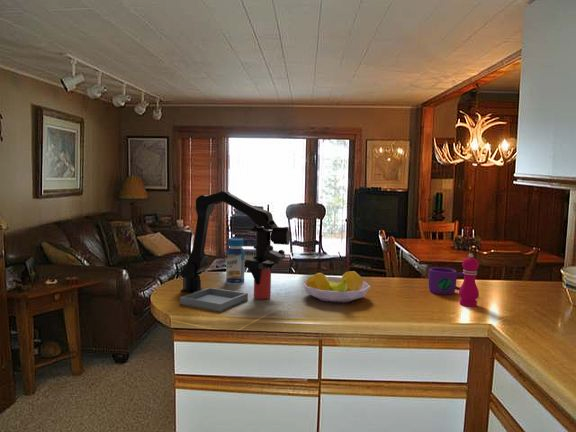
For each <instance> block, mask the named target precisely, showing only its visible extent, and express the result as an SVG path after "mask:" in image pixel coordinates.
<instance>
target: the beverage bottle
mask: <svg viewBox="0 0 576 432" xmlns="http://www.w3.org/2000/svg"><path fill="white" fill-rule="evenodd" d="M227 243H228V244H227V246H228V249H227V250H226V259H225V263H226V264H225V266H226V271H225V278H226V279H225V283H226V284H228V285H242V284H244V283H245V267H244V262H245V261H246V259H245V258H246V257H245V254H246V253H245V250H244V248H243V247H244V238H241V237H231V238H228V240H227Z"/></svg>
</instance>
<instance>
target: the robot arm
mask: <svg viewBox="0 0 576 432" xmlns="http://www.w3.org/2000/svg"><path fill="white" fill-rule="evenodd" d="M221 203H225V204H227V205H229V206H230V207H232V208H234V209H236V210H237V211H239V212H241V213H242V214H244V215H246V216H247V217H248V218H249V219H250V220H251V221H252V222H253V223H254V224H255V225H254V226H253V227H252V228H251V229H250V232H254V233H255V245H253V249H255V255H254V256H253V258H249V259H245V262H244V268H247V269H248V270H249V272H250V274H251V275H252V277H253V281H254V280H255V282H256V284H258V285H259V284H260V277H261V271H262V270H263V269H264V268H263V267H262V266H264V267H269V268H270V271H271V272H272V270H273V268H274V267H275V266H277V265H280V264H282V263H283V260H285V259H286V254H285V250H284V249H279V250H274V247H273V245H271V242H272V243H273V244H274V245H285V246H289V244H290V243H291V232H290V228H289V226H283V227H281V226H278V225H277V223H276V222H275V220H274V219H273V214H272V212H270V211H268V210H266V209H263V208H260V207H257V206H253V205H251V204H250V203H248V202H246V201H245V200H243V199H241V198H239V197H237V196H235V195H234V194H232V193H231V192H229V191H228V190H221V191H219V192H216V193H212V194H201V195H199V196H197V197H196V198H195V212H196V217H197V219H196V225H195V232H194V238H193V244H192V245H193V246H192V251H191V252H190V255H189V257H188V259H187V261H186V265H185V267H184V268H183V269H182V270H181V271H180V276H181V278H183V279H182V288H181V289H180V292H184V293H185V292H186V293H189V294H191V293H194V292H197V291H200V290H203V288H201V287H202V286H201V285H202V283H201V274H202V273H203V271H204V270H205V269H206V267H208V259H209V256H208V255H206V253H205V246H206V242H207V233H208V228H209V222H210V218H211V216H212V213H213V211H214V210H215V205H218V204H221Z"/></svg>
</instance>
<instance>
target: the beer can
mask: <svg viewBox="0 0 576 432" xmlns="http://www.w3.org/2000/svg"><path fill="white" fill-rule="evenodd" d="M262 267H263V268H264V269H263V270H262V271H261V277H260V284H259V285H258V284H256V282H255V280H254V279H253V297H254V299H256V300H264V299H265V300H268V299H270V298H271V295H272V291H271V290H272V289H271V288H272V273H271V272H272V270H271V271H270V268H269V267H264V266H262ZM265 300H264V301H265Z"/></svg>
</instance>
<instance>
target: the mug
mask: <svg viewBox="0 0 576 432" xmlns="http://www.w3.org/2000/svg"><path fill="white" fill-rule="evenodd" d="M460 276H461V277H464V273H463V272H457V270H456V269H453V268H450V267H439V266H438V267H437V266H436V267H429V268H428V290H429V292H431V293H432V294H437V295H443V296H449V295H451V296H452V295H453V294H454V293H455V291H459V290H460V287H461V286H460V287H459V286H457V278H458V277H460Z"/></svg>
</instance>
